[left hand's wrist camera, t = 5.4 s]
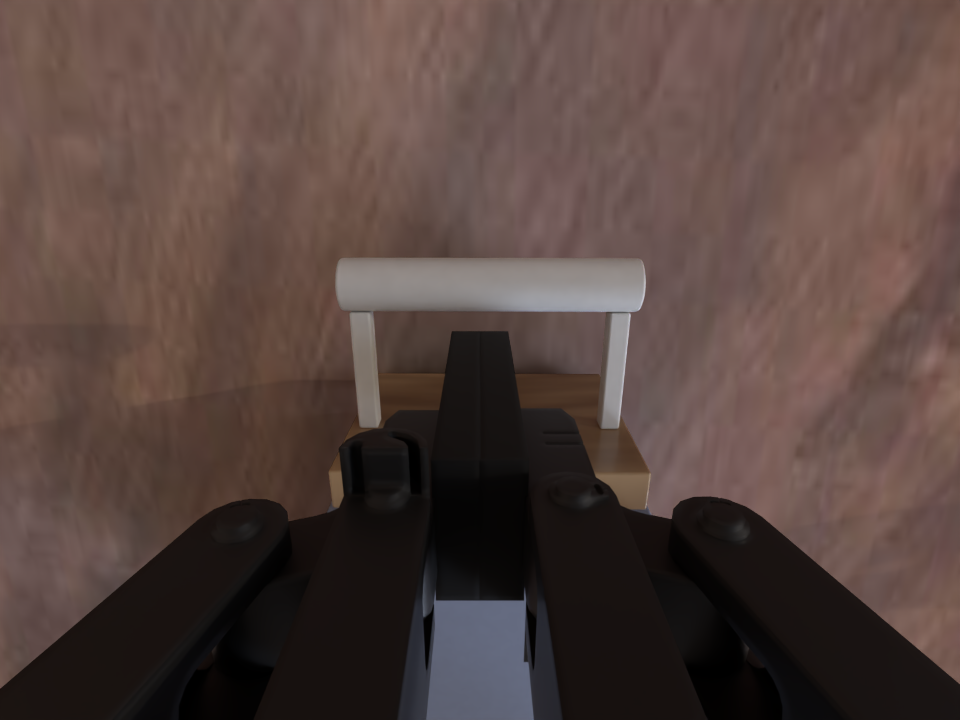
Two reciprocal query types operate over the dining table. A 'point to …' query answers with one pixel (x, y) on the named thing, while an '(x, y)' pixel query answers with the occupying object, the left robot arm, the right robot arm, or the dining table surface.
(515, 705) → the cabinet
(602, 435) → the drawer
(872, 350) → the dining table surface
